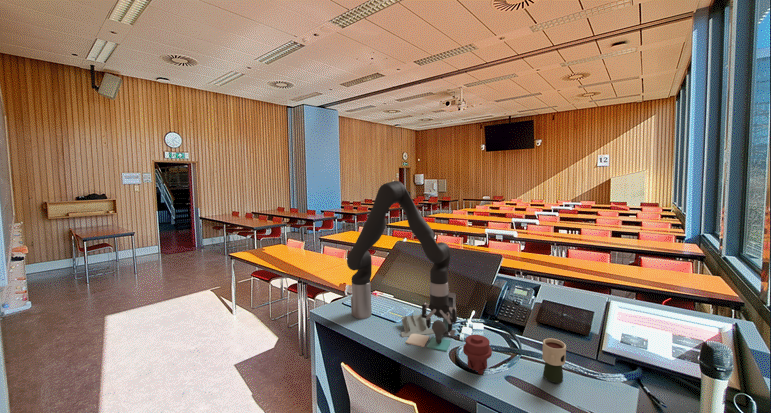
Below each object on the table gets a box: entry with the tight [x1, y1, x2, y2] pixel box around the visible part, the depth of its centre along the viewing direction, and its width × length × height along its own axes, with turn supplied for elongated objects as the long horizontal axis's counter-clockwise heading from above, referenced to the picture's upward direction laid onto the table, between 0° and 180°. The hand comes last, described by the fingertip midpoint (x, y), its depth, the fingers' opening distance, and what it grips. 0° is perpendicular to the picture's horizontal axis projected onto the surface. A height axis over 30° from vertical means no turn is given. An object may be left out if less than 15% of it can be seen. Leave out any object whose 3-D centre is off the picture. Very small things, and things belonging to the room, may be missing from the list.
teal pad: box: [427, 336, 452, 352], centre depth 140 cm, size 8×8×1 cm
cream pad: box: [405, 334, 430, 348], centre depth 144 cm, size 8×8×1 cm
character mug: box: [541, 338, 567, 384], centre depth 116 cm, size 11×7×13 cm, turn 149°
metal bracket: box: [400, 313, 435, 338], centre depth 154 cm, size 14×6×15 cm
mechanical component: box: [462, 334, 493, 375], centre depth 122 cm, size 12×10×10 cm
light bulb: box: [431, 319, 446, 344], centre depth 139 cm, size 6×6×10 cm
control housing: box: [436, 291, 457, 338], centre depth 148 cm, size 7×5×18 cm
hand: (439, 329), depth 139 cm, fingers open, 8 cm apart
